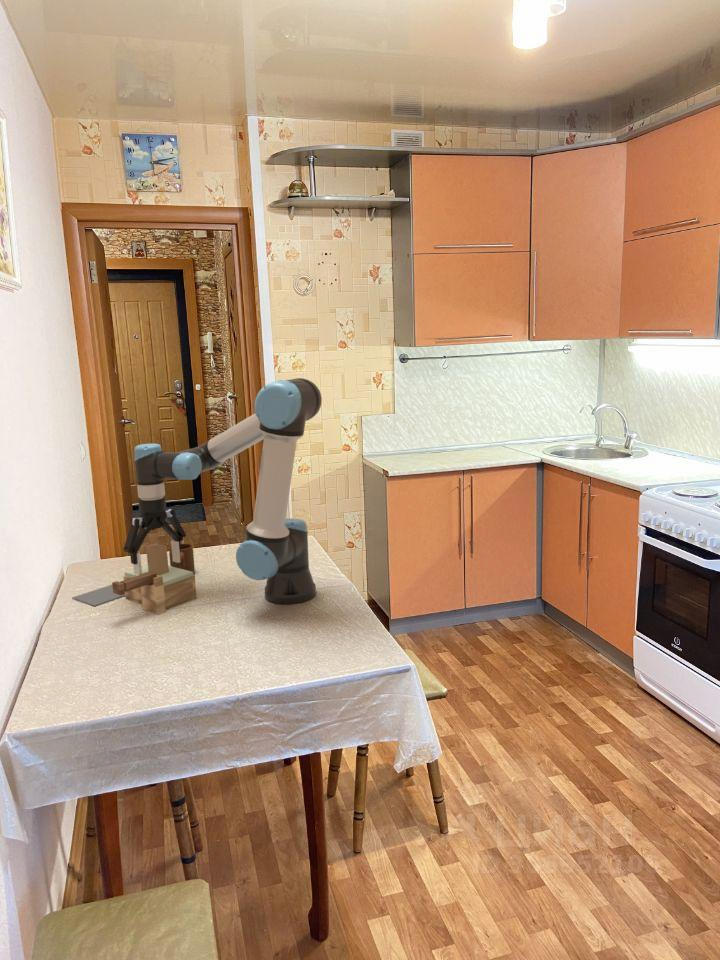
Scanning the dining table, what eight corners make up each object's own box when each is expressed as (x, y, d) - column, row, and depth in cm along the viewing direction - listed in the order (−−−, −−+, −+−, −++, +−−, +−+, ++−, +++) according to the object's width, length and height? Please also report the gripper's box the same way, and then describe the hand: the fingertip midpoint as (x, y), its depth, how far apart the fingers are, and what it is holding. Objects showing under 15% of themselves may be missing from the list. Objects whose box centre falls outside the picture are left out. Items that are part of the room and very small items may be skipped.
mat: (152, 586, 222) (152, 585, 222) (94, 606, 207) (94, 605, 207) (129, 580, 230) (129, 578, 230) (72, 598, 214) (71, 597, 214)
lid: (193, 579, 210) (190, 545, 208) (162, 590, 201) (159, 555, 199) (156, 569, 220) (153, 537, 218) (125, 579, 212) (121, 546, 210)
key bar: (158, 582, 200) (157, 572, 200) (120, 595, 191) (119, 584, 190) (150, 580, 203) (149, 570, 202) (113, 593, 193) (112, 582, 193)
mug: (195, 580, 227) (193, 552, 225) (171, 583, 225) (168, 554, 223) (194, 569, 238) (192, 542, 236) (171, 572, 236) (168, 544, 235)
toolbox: (199, 598, 210) (196, 564, 208) (158, 614, 199) (155, 578, 197) (159, 587, 222) (156, 554, 220) (118, 601, 211) (114, 567, 209)
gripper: (178, 488, 218) (183, 555, 222) (106, 504, 199) (113, 577, 203) (194, 491, 213) (199, 559, 217) (121, 507, 194) (128, 582, 198)
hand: (157, 568), depth 210 cm, fingers open, 13 cm apart
